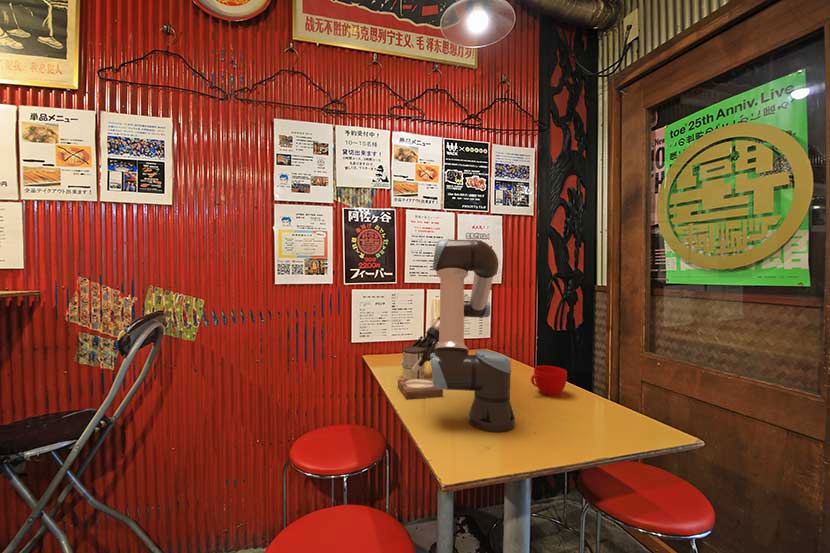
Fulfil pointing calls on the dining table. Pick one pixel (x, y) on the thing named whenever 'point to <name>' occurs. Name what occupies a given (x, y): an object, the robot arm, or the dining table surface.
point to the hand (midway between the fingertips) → (407, 367)
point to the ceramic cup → (549, 379)
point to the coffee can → (412, 362)
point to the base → (419, 388)
